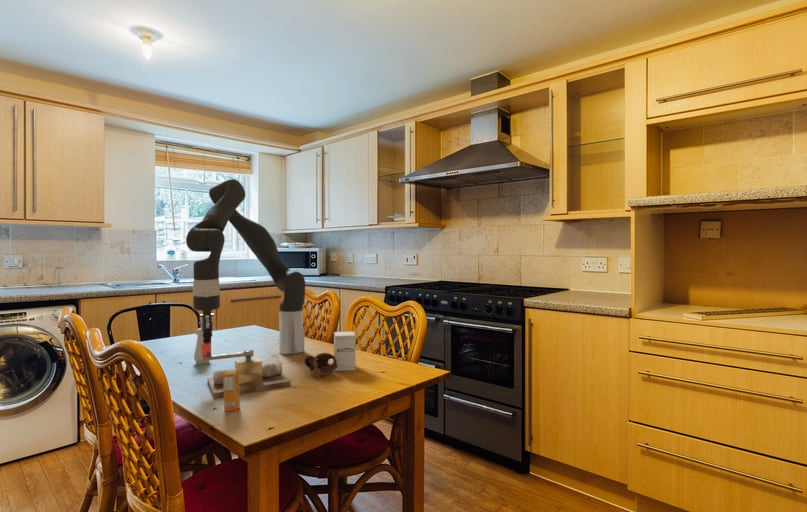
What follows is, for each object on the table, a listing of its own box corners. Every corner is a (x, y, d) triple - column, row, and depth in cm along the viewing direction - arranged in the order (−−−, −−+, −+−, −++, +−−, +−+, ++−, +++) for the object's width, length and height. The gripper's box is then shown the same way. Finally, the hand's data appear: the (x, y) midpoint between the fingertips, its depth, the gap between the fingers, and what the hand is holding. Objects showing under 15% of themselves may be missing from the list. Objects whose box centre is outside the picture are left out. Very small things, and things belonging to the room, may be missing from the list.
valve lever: (252, 354, 136) (252, 338, 136) (254, 356, 133) (254, 339, 133) (201, 359, 129) (201, 342, 129) (201, 362, 126) (201, 344, 126)
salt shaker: (214, 361, 160) (214, 326, 159) (205, 365, 154) (205, 330, 154) (199, 360, 160) (199, 326, 160) (190, 365, 155) (190, 329, 154)
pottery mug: (340, 371, 150) (342, 354, 146) (329, 391, 142) (331, 373, 138) (308, 361, 151) (309, 344, 147) (296, 380, 143) (297, 362, 139)
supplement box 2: (334, 371, 147) (334, 335, 147) (333, 365, 155) (333, 331, 154) (355, 370, 149) (355, 335, 149) (353, 364, 156) (353, 330, 156)
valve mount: (277, 372, 147) (277, 347, 146) (290, 385, 133) (290, 358, 133) (207, 382, 135) (207, 355, 135) (214, 398, 122) (213, 368, 121)
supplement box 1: (226, 407, 115) (226, 370, 115) (239, 406, 115) (239, 370, 115) (222, 411, 112) (222, 374, 112) (236, 411, 112) (236, 373, 112)
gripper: (192, 291, 135) (193, 345, 136) (193, 297, 123) (194, 356, 124) (218, 290, 138) (219, 342, 139) (221, 295, 126) (221, 353, 127)
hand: (207, 349), depth 132 cm, fingers closed
